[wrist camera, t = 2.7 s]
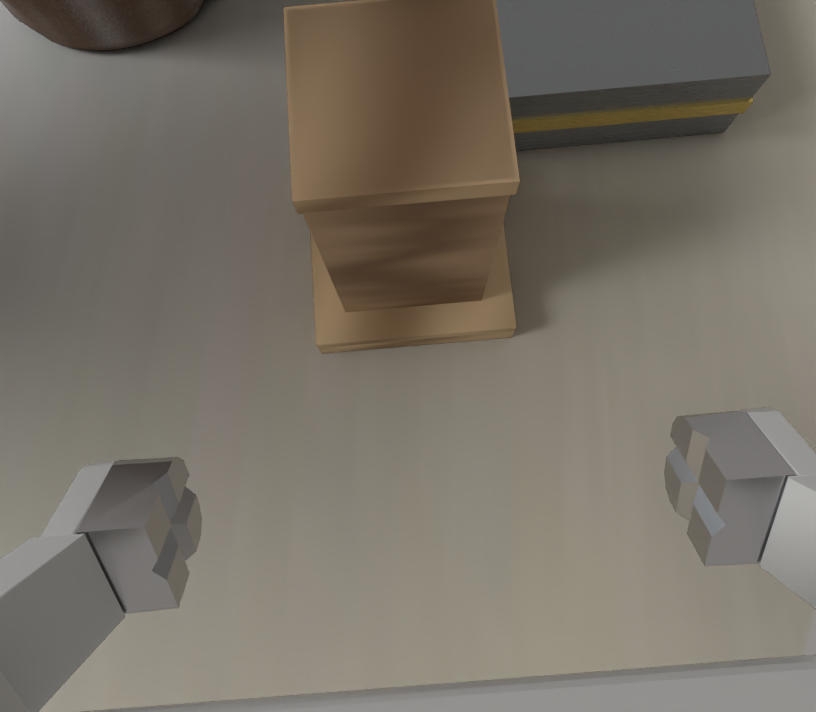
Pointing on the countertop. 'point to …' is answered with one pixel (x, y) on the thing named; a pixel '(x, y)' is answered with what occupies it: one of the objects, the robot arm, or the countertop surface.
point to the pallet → (413, 314)
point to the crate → (400, 145)
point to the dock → (627, 68)
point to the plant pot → (103, 20)
